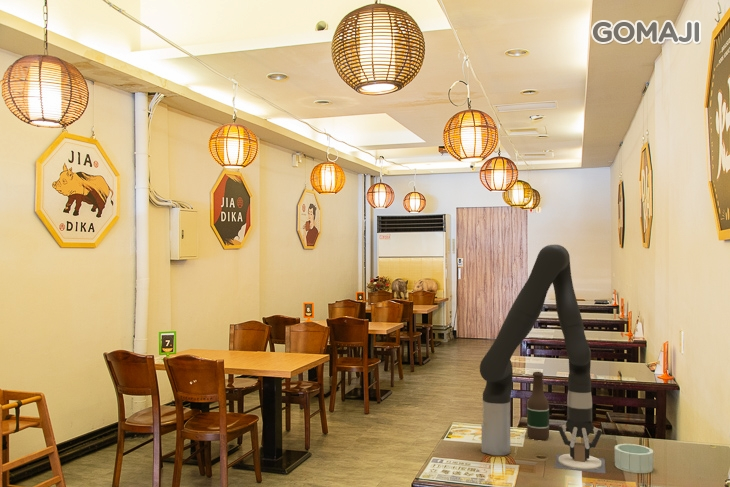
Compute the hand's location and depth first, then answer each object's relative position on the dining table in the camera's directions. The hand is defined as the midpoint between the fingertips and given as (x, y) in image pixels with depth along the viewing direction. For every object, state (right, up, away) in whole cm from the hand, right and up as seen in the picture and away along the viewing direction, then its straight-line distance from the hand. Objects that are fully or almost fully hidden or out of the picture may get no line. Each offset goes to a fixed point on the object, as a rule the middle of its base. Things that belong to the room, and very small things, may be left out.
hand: (579, 458), depth 201 cm
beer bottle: (-5, -3, +29) cm, 30 cm away
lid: (0, -1, 0) cm, 1 cm away
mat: (0, -2, 0) cm, 2 cm away
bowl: (+16, -2, -4) cm, 16 cm away
